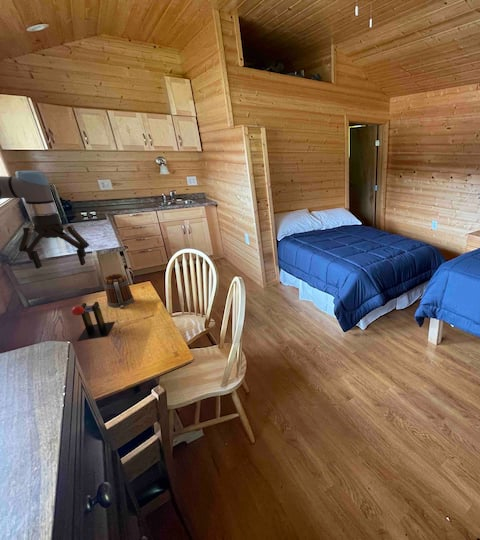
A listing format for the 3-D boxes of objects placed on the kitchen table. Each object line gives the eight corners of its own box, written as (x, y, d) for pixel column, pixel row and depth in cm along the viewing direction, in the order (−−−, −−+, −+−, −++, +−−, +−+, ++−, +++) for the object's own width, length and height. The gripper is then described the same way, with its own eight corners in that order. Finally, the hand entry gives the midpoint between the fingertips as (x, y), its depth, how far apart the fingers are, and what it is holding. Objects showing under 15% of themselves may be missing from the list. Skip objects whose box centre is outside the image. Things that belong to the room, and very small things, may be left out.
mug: (107, 302, 151) (99, 275, 145) (133, 297, 157) (126, 271, 152) (109, 316, 140) (101, 287, 134) (137, 309, 147) (130, 282, 141)
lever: (82, 314, 112) (81, 305, 112) (70, 316, 111) (69, 306, 111) (97, 311, 125) (96, 303, 125) (86, 313, 124) (85, 304, 124)
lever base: (108, 338, 125) (99, 309, 120) (77, 343, 121) (67, 314, 116) (115, 323, 135) (108, 296, 130) (87, 327, 131) (78, 299, 126)
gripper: (89, 211, 121) (103, 259, 129) (4, 212, 111) (24, 265, 119) (83, 215, 115) (97, 266, 123) (-9, 216, 105) (14, 272, 113)
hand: (61, 265), depth 121 cm, fingers open, 13 cm apart
